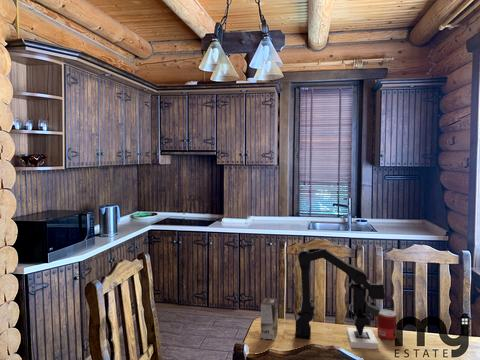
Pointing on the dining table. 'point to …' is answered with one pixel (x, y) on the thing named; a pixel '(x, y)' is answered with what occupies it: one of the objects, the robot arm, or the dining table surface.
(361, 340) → the well
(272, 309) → the coffee box
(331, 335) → the dining table surface
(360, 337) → the bracket
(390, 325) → the canned food
